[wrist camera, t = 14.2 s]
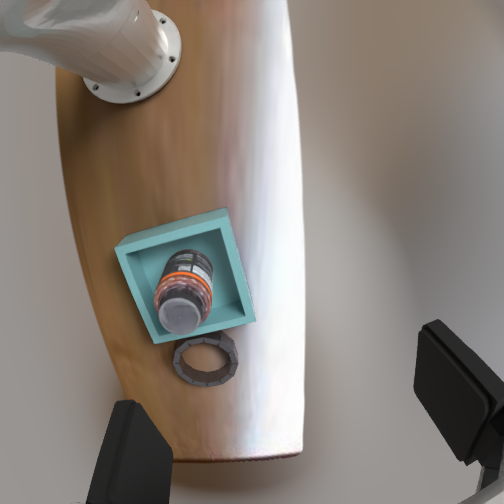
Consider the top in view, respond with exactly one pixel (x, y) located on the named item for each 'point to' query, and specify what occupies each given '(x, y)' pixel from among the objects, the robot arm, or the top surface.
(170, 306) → the supplement bottle
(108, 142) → the top surface
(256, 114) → the top surface
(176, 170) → the top surface
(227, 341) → the collar
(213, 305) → the bin
